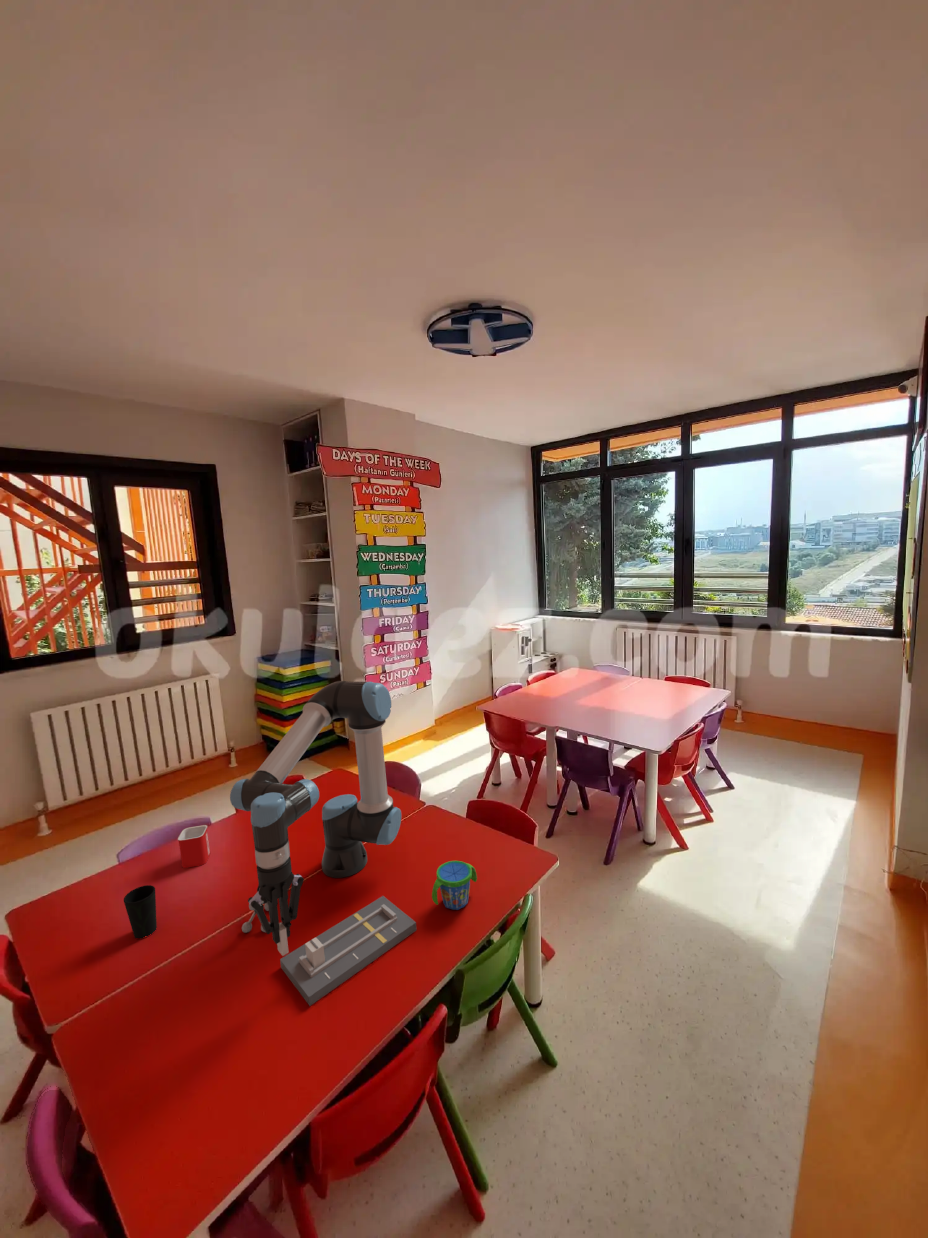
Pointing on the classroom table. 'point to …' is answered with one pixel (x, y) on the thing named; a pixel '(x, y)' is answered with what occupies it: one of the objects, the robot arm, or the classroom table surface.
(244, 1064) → the classroom table surface
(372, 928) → the panel
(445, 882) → the snack cup
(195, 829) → the mug
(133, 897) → the cup
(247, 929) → the molecular model
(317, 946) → the fader tab
